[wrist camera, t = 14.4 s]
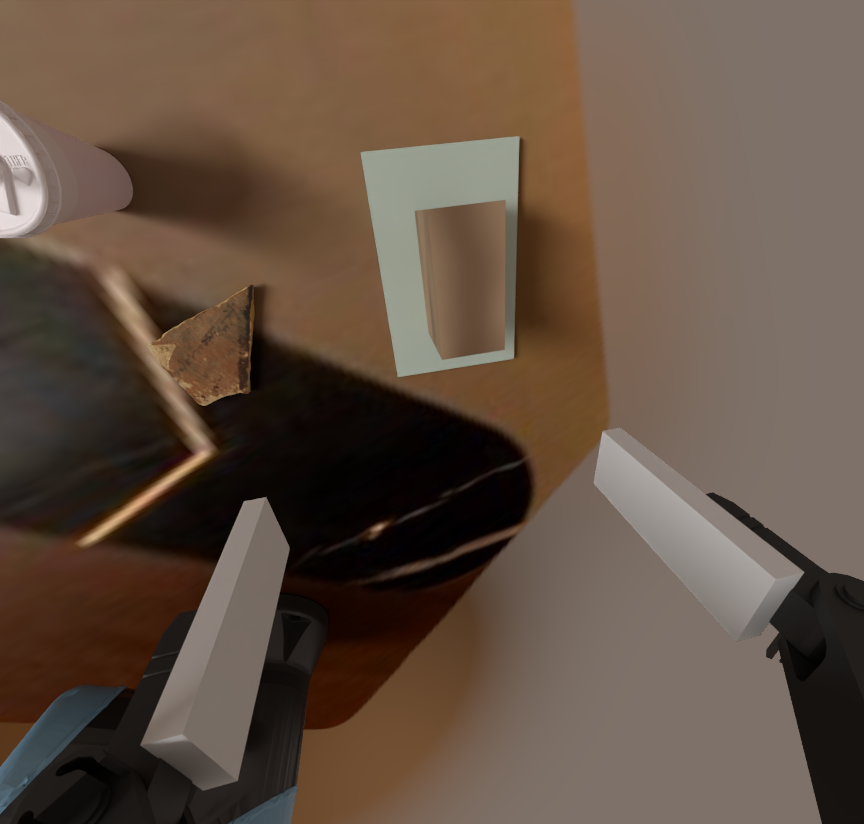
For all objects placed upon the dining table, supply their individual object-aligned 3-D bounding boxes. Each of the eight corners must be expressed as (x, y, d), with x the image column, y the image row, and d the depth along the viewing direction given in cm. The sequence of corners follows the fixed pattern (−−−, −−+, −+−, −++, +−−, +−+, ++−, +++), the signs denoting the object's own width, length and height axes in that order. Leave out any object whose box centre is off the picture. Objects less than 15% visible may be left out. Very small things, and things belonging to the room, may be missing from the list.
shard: (257, 281, 29) (251, 284, 27) (311, 356, 33) (308, 364, 31) (150, 339, 30) (138, 346, 28) (215, 406, 34) (208, 415, 32)
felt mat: (511, 356, 35) (513, 358, 35) (397, 374, 34) (398, 377, 34) (516, 137, 26) (519, 136, 26) (360, 153, 25) (360, 152, 25)
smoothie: (106, 248, 26) (-124, 276, 14) (16, 151, 22) (-390, 75, 10) (176, 204, 25) (0, 194, 13) (94, 98, 22) (-242, -46, 10)
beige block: (475, 203, 27) (505, 199, 21) (479, 325, 33) (504, 349, 27) (414, 210, 27) (427, 209, 21) (428, 333, 32) (442, 359, 26)
